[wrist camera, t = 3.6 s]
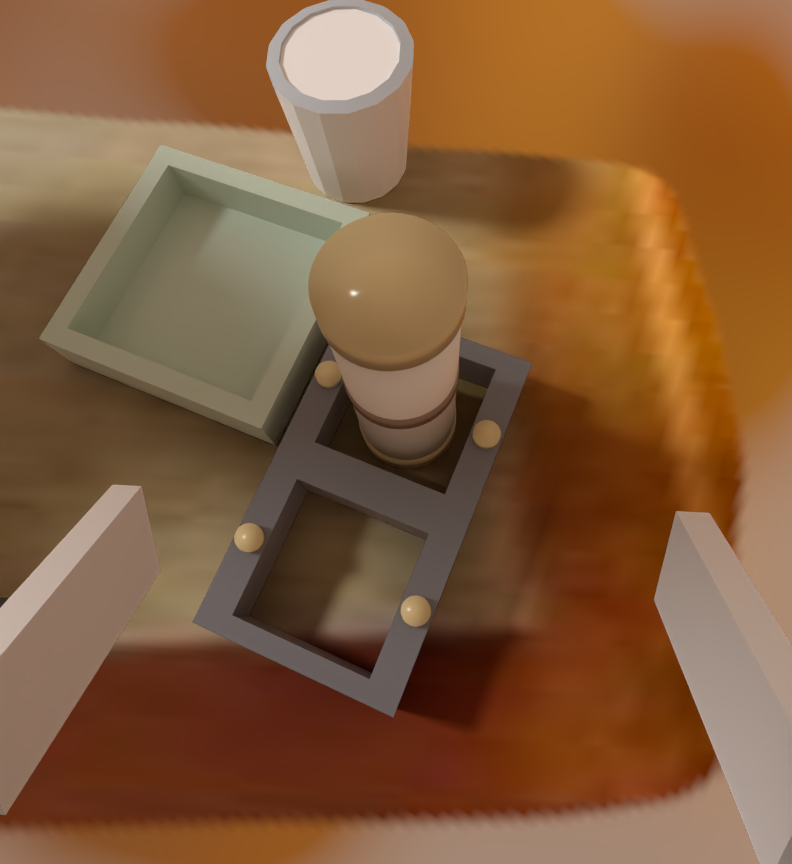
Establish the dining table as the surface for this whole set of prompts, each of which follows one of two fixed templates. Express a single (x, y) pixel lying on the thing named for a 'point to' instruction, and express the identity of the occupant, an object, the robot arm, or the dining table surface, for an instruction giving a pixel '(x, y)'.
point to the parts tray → (204, 293)
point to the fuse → (394, 330)
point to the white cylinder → (346, 94)
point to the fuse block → (371, 495)
